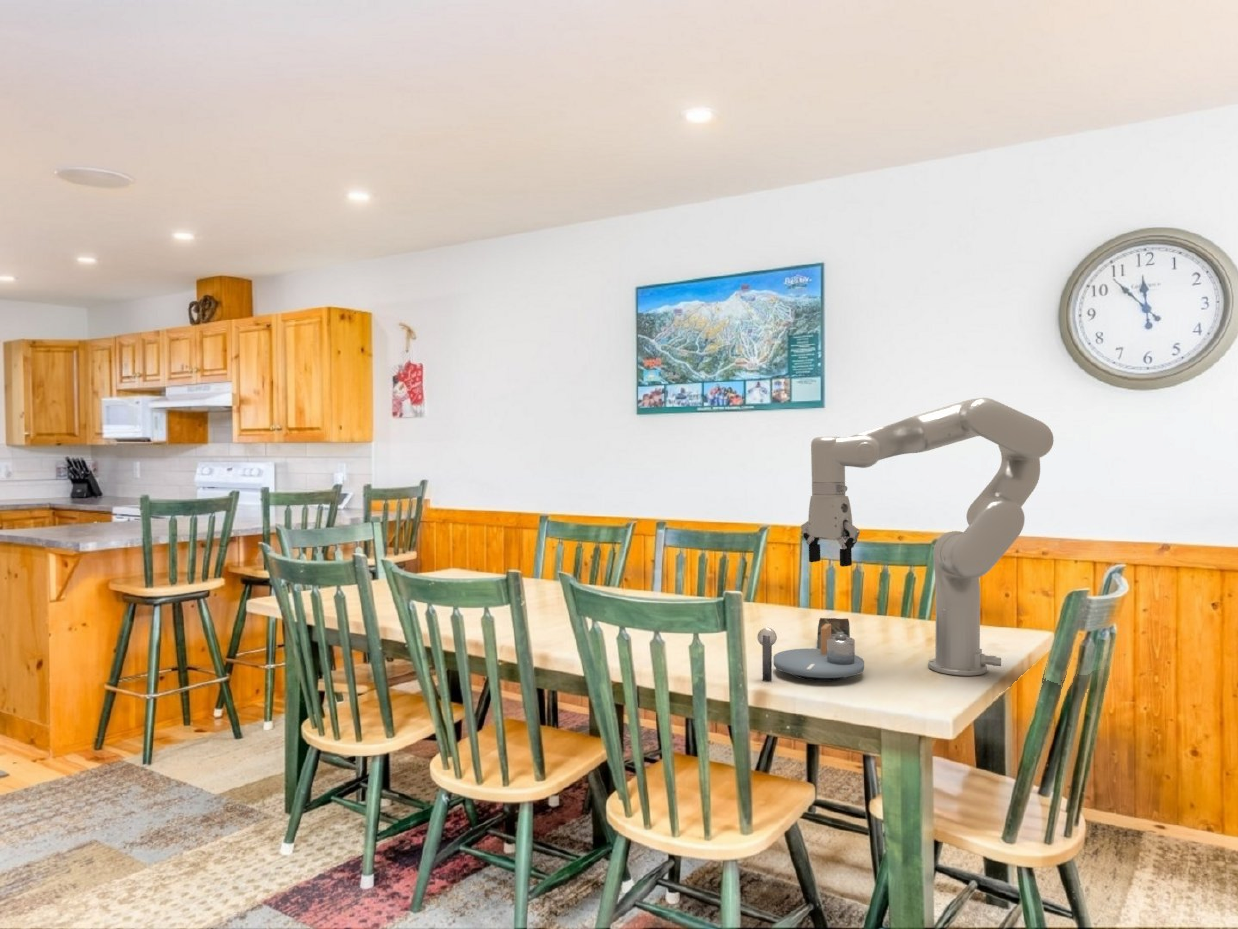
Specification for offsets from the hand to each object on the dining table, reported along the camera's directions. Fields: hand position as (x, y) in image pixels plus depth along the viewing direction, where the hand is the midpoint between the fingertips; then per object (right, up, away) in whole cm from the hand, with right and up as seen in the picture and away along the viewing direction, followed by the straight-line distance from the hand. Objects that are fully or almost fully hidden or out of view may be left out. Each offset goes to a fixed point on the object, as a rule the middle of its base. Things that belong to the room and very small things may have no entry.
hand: (829, 563), depth 201 cm
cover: (+1, -21, -7) cm, 22 cm away
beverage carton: (+5, -24, +18) cm, 31 cm away
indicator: (-16, -25, -10) cm, 31 cm away
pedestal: (-4, -24, -5) cm, 25 cm away
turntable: (-4, -22, -5) cm, 23 cm away
